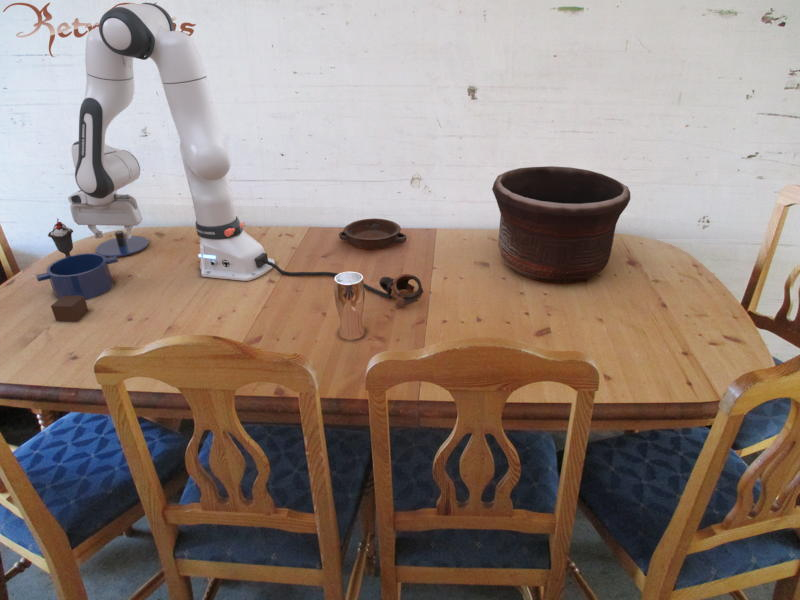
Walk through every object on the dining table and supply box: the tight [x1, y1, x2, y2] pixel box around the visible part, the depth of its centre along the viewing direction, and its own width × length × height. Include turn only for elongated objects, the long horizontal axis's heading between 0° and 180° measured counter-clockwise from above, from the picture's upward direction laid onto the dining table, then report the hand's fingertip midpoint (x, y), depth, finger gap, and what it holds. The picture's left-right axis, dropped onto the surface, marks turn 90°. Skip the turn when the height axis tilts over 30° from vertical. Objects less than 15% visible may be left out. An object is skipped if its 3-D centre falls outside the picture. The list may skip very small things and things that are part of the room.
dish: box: [338, 217, 407, 250], centre depth 185 cm, size 18×22×5 cm
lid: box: [95, 230, 150, 258], centre depth 183 cm, size 16×16×6 cm
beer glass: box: [333, 271, 366, 341], centre depth 134 cm, size 7×7×15 cm
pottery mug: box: [378, 273, 424, 309], centre depth 151 cm, size 12×10×8 cm
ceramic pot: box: [491, 165, 631, 283], centre depth 163 cm, size 37×37×25 cm
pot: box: [35, 252, 119, 301], centre depth 158 cm, size 15×20×8 cm
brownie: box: [50, 295, 89, 323], centre depth 146 cm, size 6×6×4 cm
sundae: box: [47, 218, 74, 257], centre depth 171 cm, size 7×7×15 cm
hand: (113, 237), depth 175 cm, fingers open, 8 cm apart
